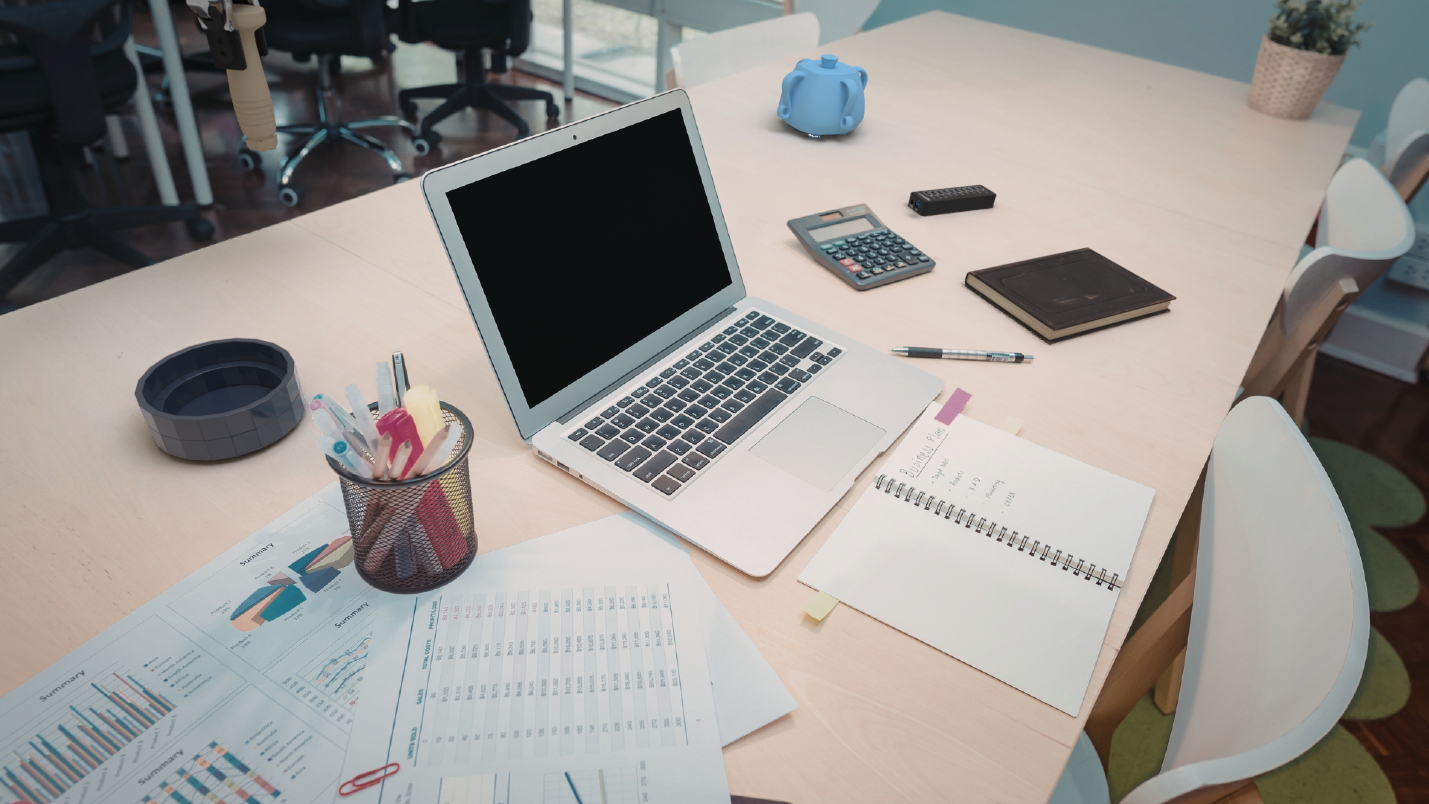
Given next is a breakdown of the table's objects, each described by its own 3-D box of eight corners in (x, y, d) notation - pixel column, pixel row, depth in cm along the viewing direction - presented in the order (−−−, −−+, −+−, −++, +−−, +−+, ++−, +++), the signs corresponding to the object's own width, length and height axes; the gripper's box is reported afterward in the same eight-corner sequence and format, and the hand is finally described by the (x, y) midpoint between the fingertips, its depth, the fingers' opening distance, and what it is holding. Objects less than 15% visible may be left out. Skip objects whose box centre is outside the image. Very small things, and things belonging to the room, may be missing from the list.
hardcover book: (1169, 311, 110) (1176, 297, 109) (1049, 344, 101) (1055, 329, 99) (1079, 259, 121) (1084, 245, 120) (962, 284, 112) (967, 269, 110)
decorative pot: (846, 150, 150) (860, 74, 142) (765, 131, 155) (775, 57, 146) (868, 126, 163) (882, 54, 154) (792, 109, 167) (802, 39, 159)
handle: (236, 140, 96) (200, 2, 87) (295, 140, 98) (266, 5, 89) (229, 155, 92) (191, 13, 83) (291, 155, 94) (260, 15, 85)
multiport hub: (994, 207, 134) (998, 194, 133) (922, 216, 129) (925, 202, 128) (977, 196, 137) (981, 183, 136) (906, 205, 132) (909, 191, 131)
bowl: (126, 463, 72) (104, 417, 69) (193, 378, 82) (177, 335, 79) (277, 467, 73) (262, 422, 70) (324, 383, 83) (313, 340, 80)
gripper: (195, -145, 85) (239, 39, 96) (106, -133, 71) (168, 80, 82) (271, -137, 86) (305, 45, 96) (196, -124, 72) (246, 87, 83)
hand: (242, 59), depth 89 cm, fingers closed on handle, 5 cm apart
